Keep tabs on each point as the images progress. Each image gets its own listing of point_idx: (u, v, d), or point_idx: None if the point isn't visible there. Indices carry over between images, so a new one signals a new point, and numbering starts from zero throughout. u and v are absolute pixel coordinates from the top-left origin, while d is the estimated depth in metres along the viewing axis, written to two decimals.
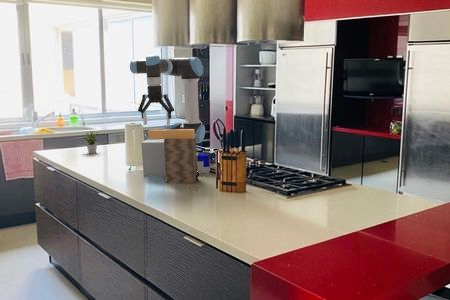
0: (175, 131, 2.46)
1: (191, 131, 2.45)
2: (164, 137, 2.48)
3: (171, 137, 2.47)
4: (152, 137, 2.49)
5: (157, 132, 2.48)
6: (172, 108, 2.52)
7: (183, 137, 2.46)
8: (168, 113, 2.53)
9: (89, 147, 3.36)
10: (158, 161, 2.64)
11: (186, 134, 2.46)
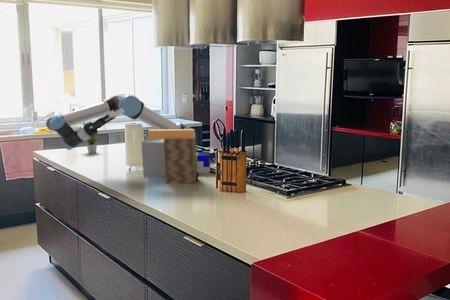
0: (175, 131, 2.46)
1: (191, 131, 2.45)
2: (164, 137, 2.48)
3: (171, 137, 2.47)
4: (152, 137, 2.49)
5: (157, 132, 2.48)
6: (98, 122, 2.45)
7: (183, 137, 2.46)
8: (105, 119, 2.47)
9: (89, 147, 3.36)
10: (158, 161, 2.64)
11: (186, 134, 2.46)
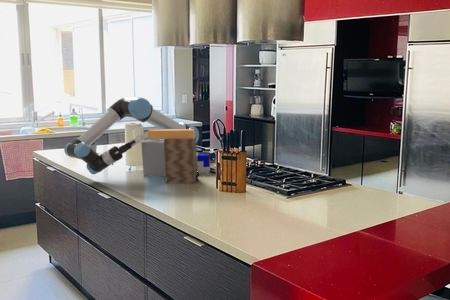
0: (175, 131, 2.46)
1: (191, 131, 2.45)
2: (164, 137, 2.48)
3: (171, 137, 2.47)
4: (152, 137, 2.49)
5: (157, 132, 2.48)
6: (125, 148, 2.43)
7: (183, 137, 2.46)
8: (131, 145, 2.45)
9: None
10: (158, 161, 2.64)
11: (186, 134, 2.46)
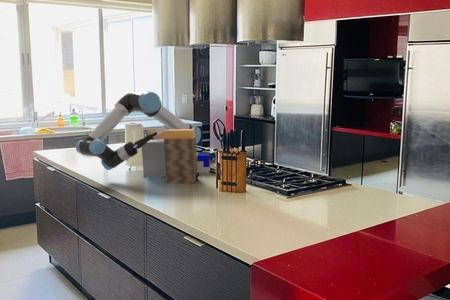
0: (175, 131, 2.46)
1: (191, 131, 2.45)
2: (164, 137, 2.48)
3: (171, 137, 2.47)
4: (152, 137, 2.49)
5: None
6: (147, 139, 2.45)
7: (183, 137, 2.46)
8: (153, 137, 2.47)
9: None
10: (158, 161, 2.64)
11: (186, 134, 2.46)
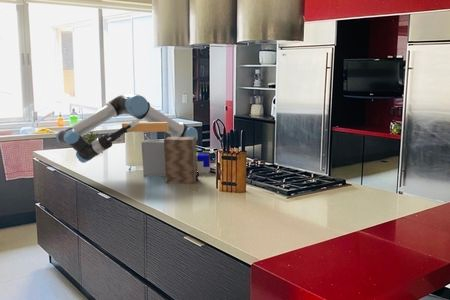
0: (149, 124, 2.48)
1: (164, 124, 2.46)
2: (138, 130, 2.49)
3: (145, 130, 2.48)
4: (126, 130, 2.50)
5: None
6: (121, 132, 2.47)
7: (157, 130, 2.48)
8: (126, 129, 2.49)
9: None
10: (158, 161, 2.64)
11: (160, 127, 2.47)
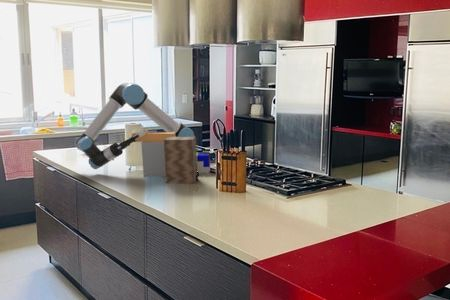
0: (157, 134, 2.63)
1: (172, 134, 2.62)
2: (147, 140, 2.65)
3: (153, 140, 2.64)
4: (136, 140, 2.66)
5: None
6: (129, 141, 2.61)
7: None
8: (135, 139, 2.63)
9: None
10: (158, 161, 2.64)
11: None
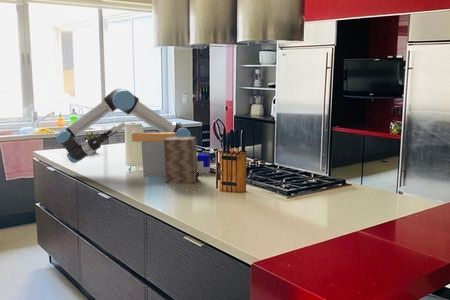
0: (157, 134, 2.63)
1: (172, 134, 2.62)
2: (147, 140, 2.65)
3: (153, 140, 2.64)
4: (136, 140, 2.66)
5: (140, 135, 2.65)
6: (102, 137, 2.60)
7: None
8: (107, 134, 2.61)
9: None
10: (158, 161, 2.64)
11: None
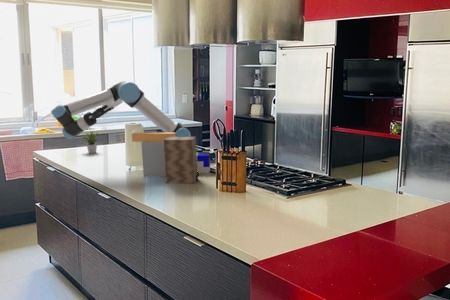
0: (157, 134, 2.63)
1: (172, 134, 2.62)
2: (147, 140, 2.65)
3: (153, 140, 2.64)
4: (136, 140, 2.66)
5: (140, 135, 2.65)
6: (98, 112, 2.57)
7: None
8: (103, 109, 2.59)
9: (89, 147, 3.36)
10: (158, 161, 2.64)
11: None
